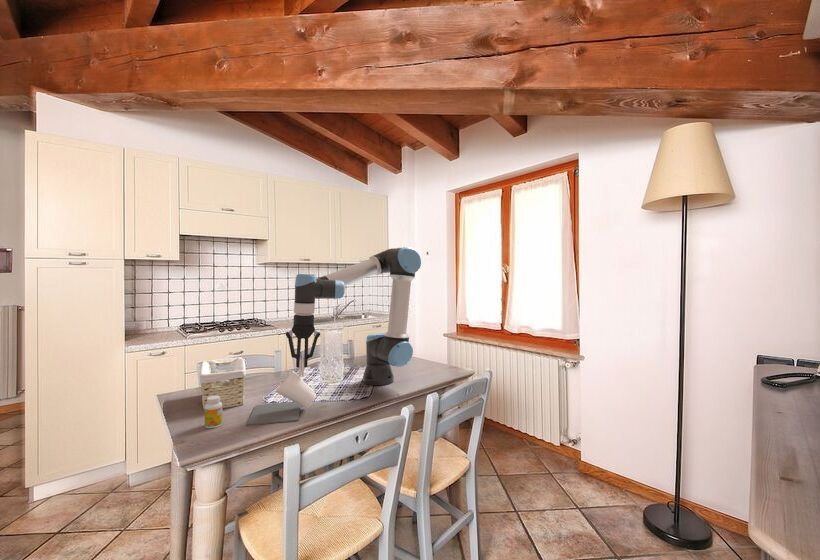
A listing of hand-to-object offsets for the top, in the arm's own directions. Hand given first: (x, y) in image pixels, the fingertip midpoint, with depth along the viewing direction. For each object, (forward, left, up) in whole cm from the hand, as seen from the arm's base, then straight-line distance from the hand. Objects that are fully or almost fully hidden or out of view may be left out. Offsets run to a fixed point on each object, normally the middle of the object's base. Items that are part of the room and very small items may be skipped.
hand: (301, 375), depth 136 cm
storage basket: (+32, -19, -14) cm, 40 cm away
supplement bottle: (+29, +7, -14) cm, 32 cm away
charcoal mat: (+9, +1, -13) cm, 16 cm away
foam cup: (-4, 0, -10) cm, 11 cm away
